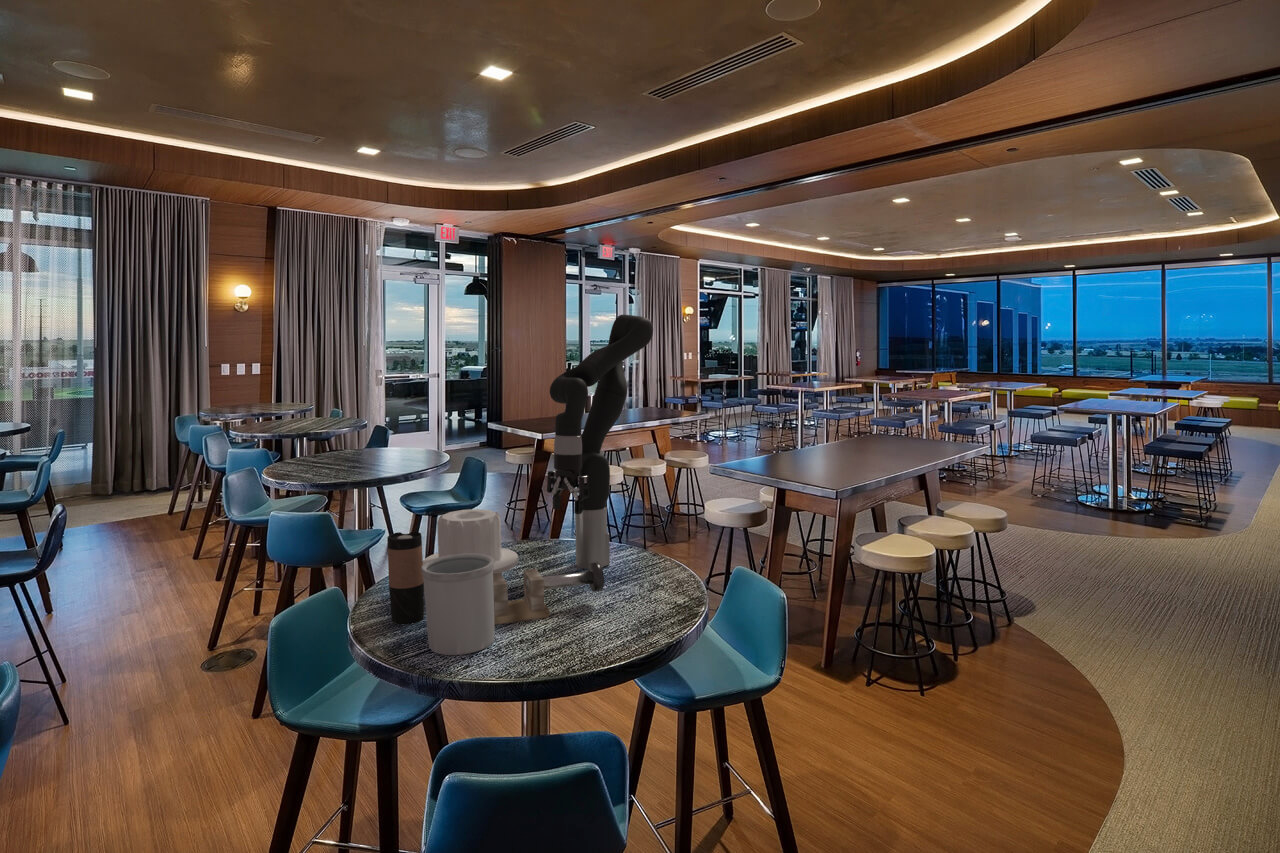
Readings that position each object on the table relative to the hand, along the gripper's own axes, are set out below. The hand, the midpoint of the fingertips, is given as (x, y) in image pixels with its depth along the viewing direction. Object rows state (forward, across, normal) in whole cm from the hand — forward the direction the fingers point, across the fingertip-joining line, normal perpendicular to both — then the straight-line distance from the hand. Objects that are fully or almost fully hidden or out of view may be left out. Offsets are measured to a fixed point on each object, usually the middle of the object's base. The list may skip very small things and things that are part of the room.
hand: (567, 511), depth 185 cm
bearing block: (+20, -9, +24) cm, 33 cm away
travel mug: (+21, +7, +43) cm, 48 cm away
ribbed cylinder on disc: (+20, +17, +19) cm, 32 cm away
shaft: (+16, -15, +14) cm, 26 cm away
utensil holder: (+21, -13, +42) cm, 49 cm away
